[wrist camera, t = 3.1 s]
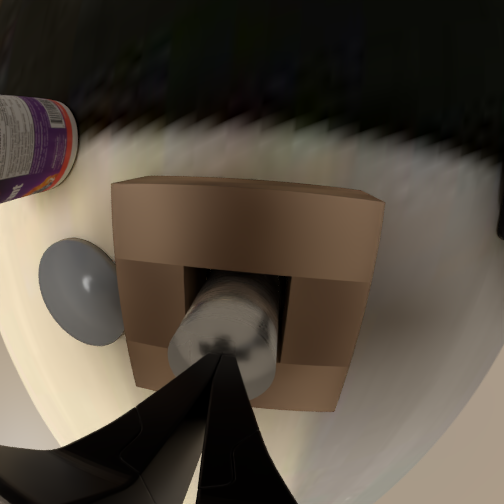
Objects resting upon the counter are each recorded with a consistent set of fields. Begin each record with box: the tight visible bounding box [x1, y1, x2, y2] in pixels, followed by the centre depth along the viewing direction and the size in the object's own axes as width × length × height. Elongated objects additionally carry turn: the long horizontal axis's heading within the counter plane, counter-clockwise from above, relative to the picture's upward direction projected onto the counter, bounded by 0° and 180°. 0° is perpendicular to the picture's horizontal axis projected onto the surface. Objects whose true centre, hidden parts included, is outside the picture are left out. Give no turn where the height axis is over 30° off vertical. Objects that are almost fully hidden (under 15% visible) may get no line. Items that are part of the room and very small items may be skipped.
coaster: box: [39, 238, 125, 346], centre depth 16 cm, size 7×7×1 cm
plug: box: [168, 269, 280, 400], centre depth 12 cm, size 3×3×6 cm
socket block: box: [111, 176, 385, 412], centre depth 13 cm, size 10×10×4 cm
